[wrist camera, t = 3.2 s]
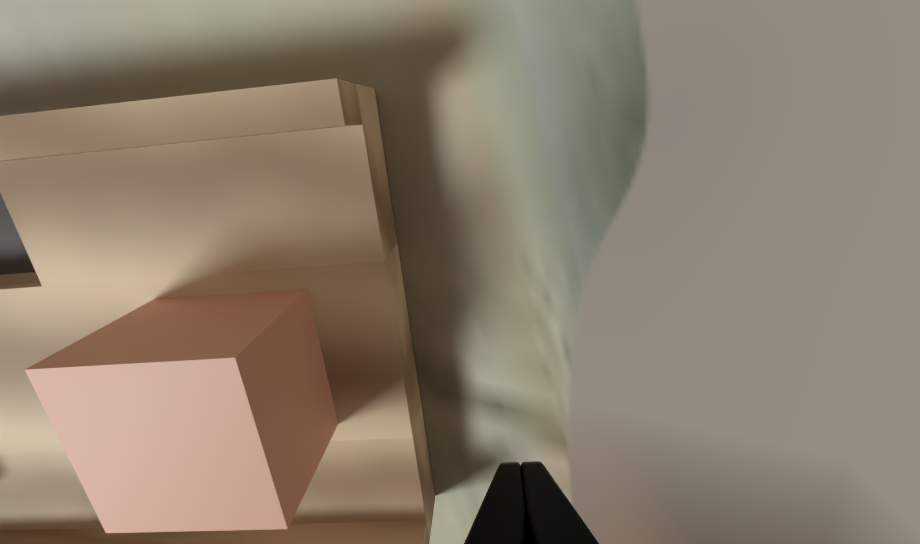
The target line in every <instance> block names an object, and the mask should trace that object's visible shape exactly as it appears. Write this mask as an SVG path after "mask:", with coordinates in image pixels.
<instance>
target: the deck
mask: <svg viewBox="0 0 920 544" xmlns="http://www.w3.org/2000/svg"><path fill="white" fill-rule="evenodd" d="M296 289H307V290H308V294H309V298H310V303H311V307H312V312H313V316H314V320H315V325H316V329H317V333H318V338H319V342H320V346H321V351H322V355H323V360H324V364H325V368H326V373H327V377H328V381H329V386H330V390H331V395H332V399H333V403H334V408H335V412H336V416H337V421H338V426H337V428H336V430H335V432H334V434H333V436H332V438H331V440H330V442H329V444H328V446H327V448H326V451H325V453H324V455H323V457H322V459H321V461H320V463H319V465H318V467H317V469H316V471H315V473H314V476H313V478H312V480H311V482H310V484H309V486H308V488H307V490H306V492H305V494H304V496H303V498H302V500H301V503H300V505H299V507H298V509H297V511H296V513H295V515H294V517H293V519H292V521H291V523H290V525H289V527H288V529H275V530H230V531H184V532H138V533H106V532H105V530H104V528H103V526H102V524H101V522H100V520H99V518H98V516H97V514H96V512H95V510H94V508H93V506H92V504H91V502H90V500H89V498H88V496H87V494H86V492H85V490H84V488H83V486H82V484H81V482H80V480H79V478H78V476H77V474H76V472H75V470H74V468H73V466H72V464H71V462H70V460H69V458H68V456H67V454H66V452H65V450H64V448H63V446H62V444H61V442H60V440H59V438H58V436H57V434H56V432H55V430H54V428H53V426H52V424H51V422H50V420H49V418H48V416H47V414H46V412H45V410H44V408H43V406H42V404H41V402H40V400H39V398H38V396H37V394H36V392H35V390H34V388H33V386H32V384H31V382H30V380H29V378H28V376H27V374H26V372H25V369H27V368H29V367H30V366H32V365H34V364H36V363H38V362H40V361H41V360H43V359H45V358H47V357H49V356H51V355H52V354H54V353H56V352H58V351H60V350H62V349H63V348H65V347H67V346H69V345H71V344H73V343H74V342H76V341H78V340H80V339H82V338H84V337H85V336H87V335H89V334H91V333H93V332H95V331H97V330H98V329H100V328H102V327H104V326H106V325H108V324H109V323H111V322H113V321H115V320H117V319H119V318H120V317H122V316H124V315H126V314H128V313H130V312H131V311H133V310H135V309H137V308H139V307H141V306H142V305H144V304H146V303H148V302H150V301H152V300H153V299H168V298H182V297H196V296H210V295H225V294H239V293H253V292H267V291H282V290H296ZM434 502H435V492H434V486H433V479H432V472H431V465H430V459H429V452H428V445H427V438H426V432H425V425H424V418H423V411H422V405H421V398H420V391H419V385H418V378H417V371H416V364H415V358H414V351H413V344H412V337H411V331H410V324H409V317H408V310H407V304H406V297H405V290H404V283H403V277H402V270H401V263H400V256H399V250H398V243H397V236H396V229H395V223H394V216H393V209H392V203H391V196H390V189H389V182H388V176H387V169H386V162H385V155H384V149H383V142H382V135H381V128H380V122H379V115H378V108H377V101H376V95H375V89H374V88H370V87H366V86H363V85H359V84H356V83H352V82H348V81H345V80H341V79H337V78H335V79H326V80H317V81H308V82H299V83H291V84H282V85H273V86H264V87H255V88H246V89H237V90H228V91H219V92H210V93H201V94H192V95H183V96H174V97H165V98H156V99H147V100H138V101H129V102H121V103H112V104H103V105H94V106H85V107H76V108H67V109H58V110H49V111H40V112H31V113H22V114H13V115H4V116H0V544H429V540H430V532H431V524H432V517H433V509H434Z"/></svg>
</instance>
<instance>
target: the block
mask: <svg viewBox="0 0 920 544" xmlns="http://www.w3.org/2000/svg"><path fill="white" fill-rule="evenodd" d="M25 372H26V374H27V376H28V378H29V380H30V382H31V384H32V386H33V388H34V390H35V392H36V394H37V396H38V398H39V400H40V402H41V404H42V406H43V408H44V410H45V412H46V414H47V416H48V418H49V420H50V422H51V424H52V426H53V428H54V430H55V432H56V434H57V436H58V438H59V440H60V442H61V444H62V446H63V448H64V450H65V452H66V454H67V456H68V458H69V460H70V462H71V464H72V466H73V468H74V470H75V472H76V474H77V476H78V478H79V480H80V482H81V484H82V486H83V488H84V490H85V492H86V494H87V496H88V498H89V500H90V502H91V504H92V506H93V508H94V510H95V512H96V514H97V516H98V518H99V520H100V522H101V524H102V526H103V528H104V530H105V532H106V533H138V532H184V531H230V530H275V529H288V527H289V525H290V523H291V521H292V519H293V517H294V515H295V513H296V511H297V509H298V507H299V505H300V503H301V500H302V498H303V496H304V494H305V492H306V490H307V488H308V486H309V484H310V482H311V480H312V478H313V476H314V473H315V471H316V469H317V467H318V465H319V463H320V461H321V459H322V457H323V455H324V453H325V451H326V448H327V446H328V444H329V442H330V440H331V438H332V436H333V434H334V432H335V430H336V428H337V426H338V421H337V416H336V412H335V408H334V403H333V399H332V395H331V390H330V386H329V381H328V377H327V373H326V368H325V364H324V360H323V355H322V351H321V346H320V342H319V338H318V333H317V329H316V325H315V320H314V316H313V312H312V307H311V303H310V298H309V294H308V290H307V289H296V290H282V291H267V292H253V293H239V294H225V295H210V296H196V297H182V298H168V299H153V300H152V301H150V302H148V303H146V304H144V305H142V306H141V307H139V308H137V309H135V310H133V311H131V312H130V313H128V314H126V315H124V316H122V317H120V318H119V319H117V320H115V321H113V322H111V323H109V324H108V325H106V326H104V327H102V328H100V329H98V330H97V331H95V332H93V333H91V334H89V335H87V336H85V337H84V338H82V339H80V340H78V341H76V342H74V343H73V344H71V345H69V346H67V347H65V348H63V349H62V350H60V351H58V352H56V353H54V354H52V355H51V356H49V357H47V358H45V359H43V360H41V361H40V362H38V363H36V364H34V365H32V366H30V367H29V368H27V369H25Z"/></svg>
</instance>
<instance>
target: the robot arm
mask: <svg viewBox="0 0 920 544" xmlns="http://www.w3.org/2000/svg"><path fill="white" fill-rule="evenodd" d="M464 544H599V543H598V542H597V540H596V539H595V537H594V536H593V535H592V533H591V532H590V530H589V529H588V527H587V526H586V525H585V523H584V522H583V520H582V519H581V517H580V516H579V515H578V513H577V512H576V510H575V509H574V507H573V506H572V505H571V503H570V502H569V500H568V499H567V498H566V496H565V495H564V493H563V492H562V490H561V489H560V488H559V486H558V485H557V483H556V482H555V481H554V479H553V478H552V476H551V475H550V473H549V472H548V471H547V469H546V468H545V466H544V465H543V464H542V463H541V462H538V461H537V462H523V463H522V464H521V466H520V464H519V463H518V462H508V463H501V464H500V465H499V466H498V469H497V471H496V473H495V475H494V478H493V480H492V482H491V484H490V487H489V489H488V491H487V493H486V496H485V498H484V500H483V502H482V504H481V507H480V509H479V511H478V513H477V516H476V518H475V520H474V522H473V525H472V527H471V529H470V531H469V534H468V536H467V538H466V540H465V543H464Z"/></svg>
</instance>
